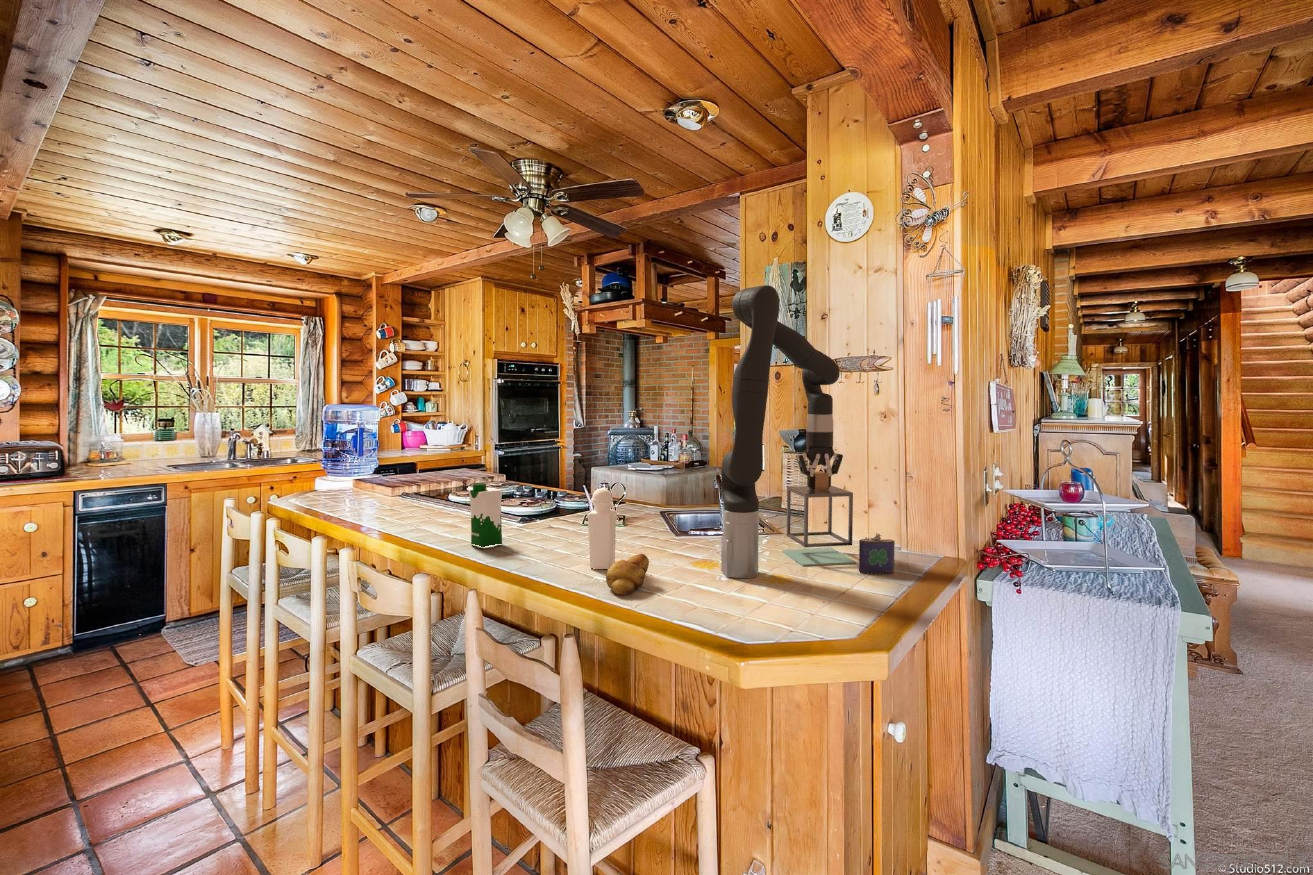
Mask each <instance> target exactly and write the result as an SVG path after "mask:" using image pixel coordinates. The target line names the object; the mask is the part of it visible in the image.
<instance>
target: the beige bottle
mask: <svg viewBox="0 0 1313 875" xmlns="http://www.w3.org/2000/svg"><path fill="white" fill-rule="evenodd" d="M590 502H591V503H592V505H593V509H594V510H591V512H589V513H588V514H587V526H588V527H587V528H588V551H589V569H590V568H595V569H610V567H611V566H612V564H613V563H614V562H616V560H615V559H616V536H617V535H616V534H617V532H616V531H617V530H616V529H617V511H616V510H615V509H611V504H612V503H613V502H614V498H613V496H612V493H611V492H610V490H608V489H607V488H603V487H601V488H598V489H596V490H595V491H593V494H592V496H591V499H590Z"/></svg>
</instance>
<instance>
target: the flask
mask: <svg viewBox="0 0 1313 875" xmlns="http://www.w3.org/2000/svg"><path fill="white" fill-rule="evenodd" d="M858 542H859V544H858V545H859V546H858V548H859V551H858V553H859V554H858V556H859V557H858V560H859V561H858V572H860V573H859V574H863V575H894V573H895V546H896V545H895V544H896V543H895V540H893V539H890V538H888V539H882V535H881V534H880V533H875V536H874V537H865V538H862V539H859V541H858Z"/></svg>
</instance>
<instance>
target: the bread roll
mask: <svg viewBox="0 0 1313 875" xmlns="http://www.w3.org/2000/svg"><path fill="white" fill-rule="evenodd" d="M649 564H650V560H649V558H648V556H647V555H646V554H644V553H638V554H634V555H632V556H631V557H629V558H628V559H627V560H626V559H620V560H616V561H615V562H614V563H613V564H612V566H611V567H610V569H609V570H606V571H607V572H606V574H605V582H606V584H607V587H608V588H609V589H610V588H611V590H612V591H613V593H614V594H616V595H628V593H629V594H631V593H632V592H633V591H634V590H638V589H640V588H642V587H643V585H644V583H645V578H646V574H647V571H648V568H649ZM637 588H638V589H637Z"/></svg>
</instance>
